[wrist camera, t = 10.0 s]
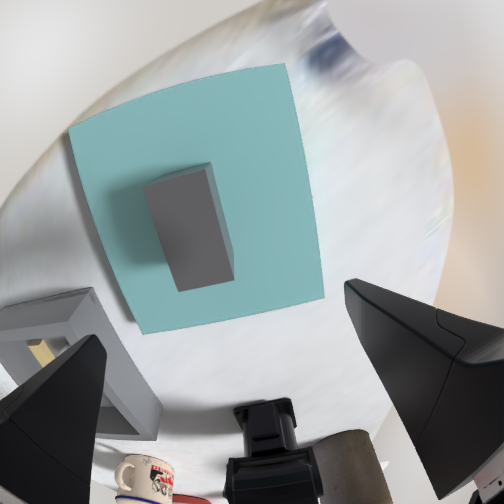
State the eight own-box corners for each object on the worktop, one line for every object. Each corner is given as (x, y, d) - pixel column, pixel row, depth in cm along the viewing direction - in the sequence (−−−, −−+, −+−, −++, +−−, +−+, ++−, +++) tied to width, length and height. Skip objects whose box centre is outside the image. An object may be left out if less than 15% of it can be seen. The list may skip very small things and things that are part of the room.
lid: (317, 283, 23) (341, 330, 17) (148, 318, 23) (130, 369, 17) (279, 70, 16) (299, 44, 11) (82, 128, 17) (33, 131, 11)
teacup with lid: (185, 473, 36) (183, 529, 26) (142, 474, 37) (136, 525, 26) (146, 444, 32) (136, 512, 21) (101, 443, 32) (87, 502, 21)
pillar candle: (370, 421, 33) (402, 505, 19) (367, 446, 36) (390, 516, 23) (305, 441, 33) (323, 531, 19) (312, 463, 37) (327, 536, 23)
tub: (162, 405, 28) (156, 440, 23) (72, 405, 28) (61, 433, 23) (92, 287, 21) (67, 321, 17) (4, 307, 21) (-19, 333, 17)
